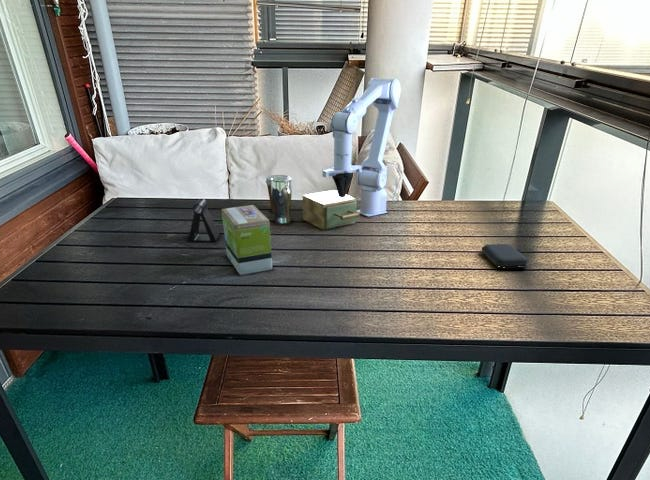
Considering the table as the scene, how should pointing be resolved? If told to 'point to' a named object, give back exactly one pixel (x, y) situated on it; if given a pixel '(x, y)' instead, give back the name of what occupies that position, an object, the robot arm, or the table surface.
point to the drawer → (340, 214)
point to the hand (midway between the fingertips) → (341, 196)
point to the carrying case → (504, 256)
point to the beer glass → (281, 199)
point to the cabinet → (322, 206)
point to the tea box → (247, 239)
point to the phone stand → (208, 223)
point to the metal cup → (268, 182)
